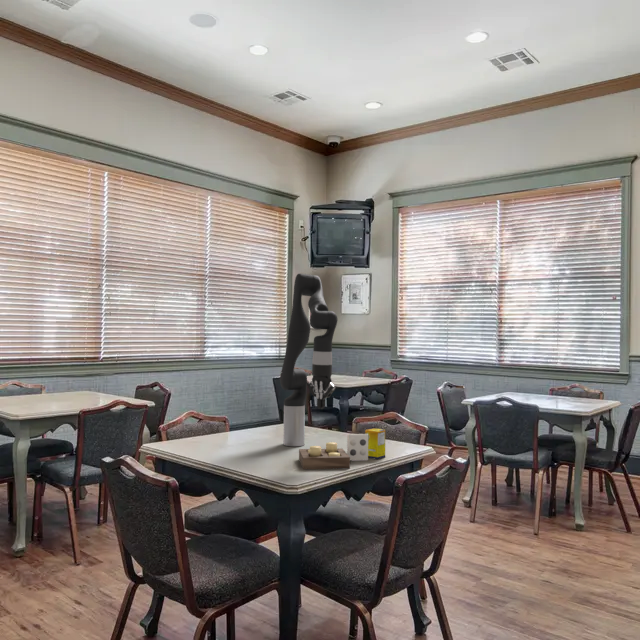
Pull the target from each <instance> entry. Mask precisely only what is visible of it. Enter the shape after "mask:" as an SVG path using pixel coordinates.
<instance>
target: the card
mask: <svg viewBox="0 0 640 640" xmlns="http://www.w3.org/2000/svg"><path fill="white" fill-rule="evenodd" d="M346 442H347V443H346V444H347V445H346V446H347V451H346V453H347V455H348V456H349V457H350V460H352V461H369V458H368V434H365V433H347V441H346Z"/></svg>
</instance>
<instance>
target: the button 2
mask: <svg viewBox="0 0 640 640" xmlns="http://www.w3.org/2000/svg"><path fill="white" fill-rule="evenodd" d="M309 449H310V456H312V457H316V456H321V449H322V447H321V446H320V445H311V446H309Z"/></svg>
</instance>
